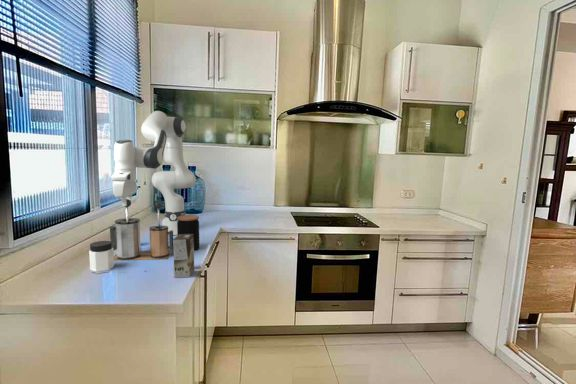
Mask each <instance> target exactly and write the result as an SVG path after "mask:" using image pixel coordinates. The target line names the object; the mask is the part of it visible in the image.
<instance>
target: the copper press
mask: <svg viewBox="0 0 576 384" xmlns="http://www.w3.org/2000/svg"><path fill="white" fill-rule="evenodd" d="M148 230H149V247H150V248H149V251H150V254H151V257H152V258H163V257H167V256H168V255H169V250H174V240H173V239H174V235H173V230H170V231H169V232H168V226H162V225H160V228H158V225H153V226H150V227H149V229H148ZM168 234H169V235H168Z"/></svg>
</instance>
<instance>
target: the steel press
mask: <svg viewBox="0 0 576 384" xmlns="http://www.w3.org/2000/svg"><path fill="white" fill-rule="evenodd" d="M109 235H110V236H109V238H110V240H109V241H111V242H112V248H113V251H115V253H116V254H117V259H120V260H128V261H130V260H129V259H135V258H138V257H140V253H141V251H142V250H141V249H142V248H141V223H140V218H137V217H128V221H126V217H125V218H119V219H116V220H114V225H111V226H110V227H109Z"/></svg>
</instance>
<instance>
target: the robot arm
mask: <svg viewBox="0 0 576 384" xmlns="http://www.w3.org/2000/svg"><path fill="white" fill-rule="evenodd" d="M186 125H187V124H186V122H185V119H184V118H182V117H179V116H167V115H166V113H165V112H163V111H160V110H154V111H153V112H151V113H150V114H149V115H148V116H147V117H146V118H145V119H144V121H143V122H142V124H141V127H140V132H141V134H142V136H143V138H145V139H146V140H147V141H149V142H152V143H153V146H151V147H137V146H135V144H134V141H133V140H130V139H120V140H119V139H118V140H116V141H115V142H114V146H113V161H114V168H113V169H114V170H113V171H114V173H113V174H112V175H111V179H110V180H111V181H112V190H113V196H114V197H115V198H116V199H120V200H121V206H122V207H124V206H127V201H126V199H129V200H130V201H131V202H132V198H133V194H137V189H138V187H137V180H136V179H137V169H136V168H140V169H142V168H143V169H144V168H145V169H154V170H156V169H158V168H159V167H160V166H161V165H162V163H163V159H164V162H165V163H166V164H167V165H169V166H172V167H174V170H161V171H160V170H159V171H156V172H154V173H153V174H152V176H151V184H152V186H153V187H154V188H155V189H157V190H158V191H159V192H160V193H161V194H162V196H163V198H164V199H163V200H164V205H165V207H164V208H165V211H164V218H163V219H162V223H161V224H162V225H161V226H168V232H169V231H170V230H173V236H178V234H177V222H178V219H177V217H178V216H182V215H186V210H185V199H184V197H183V196H182V195H180V194H178V193H176V192H175V191H174V189H175V190H176V189H188V188H189V189H190V188H192V187H194V186H195V184H196V181H197V178H196V175H195V174H194V173H193V171H191V170H190V169H189V168H188V167H187V165H186V163H185V160H184V152H183V151H184V150H183V147H184V146H183V139H182V136H183V135H184V134H185V132H186V130H187V129H186V128H187V126H186ZM168 236H169V234H168Z"/></svg>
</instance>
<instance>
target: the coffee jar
mask: <svg viewBox="0 0 576 384" xmlns="http://www.w3.org/2000/svg"><path fill="white" fill-rule="evenodd" d="M177 219H178V222H177V234H178V235H179V234H194V252H196V251H198V250H199V249H200V221H199V219H200V216H199V215H197V214H185V215H182V216H178V217H177ZM178 235H177V236H178Z"/></svg>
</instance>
